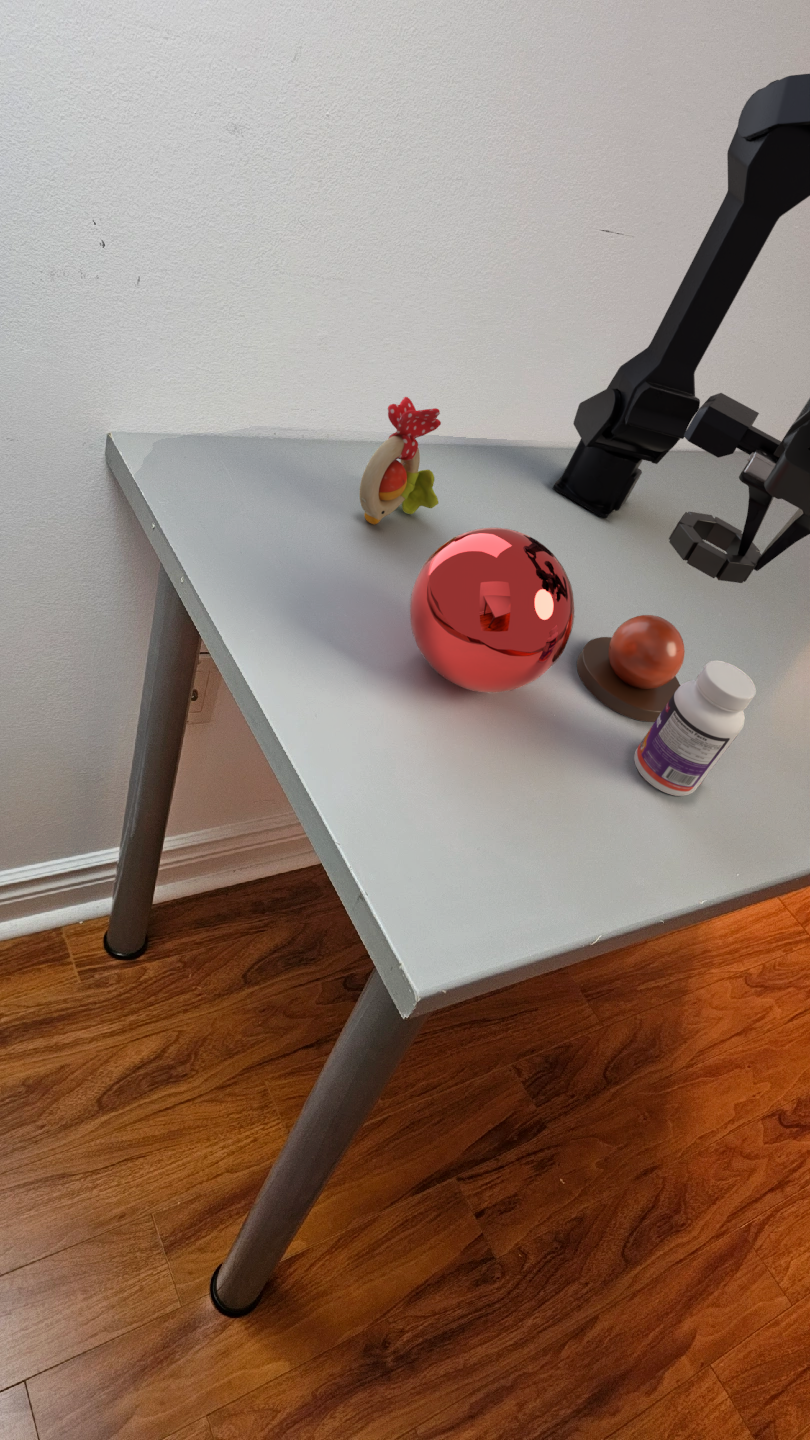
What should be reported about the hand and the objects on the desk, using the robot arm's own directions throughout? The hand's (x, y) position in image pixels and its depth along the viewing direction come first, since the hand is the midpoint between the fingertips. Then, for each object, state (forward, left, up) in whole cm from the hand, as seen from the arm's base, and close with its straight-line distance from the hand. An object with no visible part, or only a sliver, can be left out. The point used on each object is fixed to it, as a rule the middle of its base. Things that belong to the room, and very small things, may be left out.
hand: (747, 563), depth 85 cm
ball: (-14, -18, -12) cm, 25 cm away
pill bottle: (+3, -15, -12) cm, 19 cm away
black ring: (-3, 0, -1) cm, 3 cm away
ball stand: (-3, -7, -11) cm, 13 cm away
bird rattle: (-29, -4, -12) cm, 31 cm away
